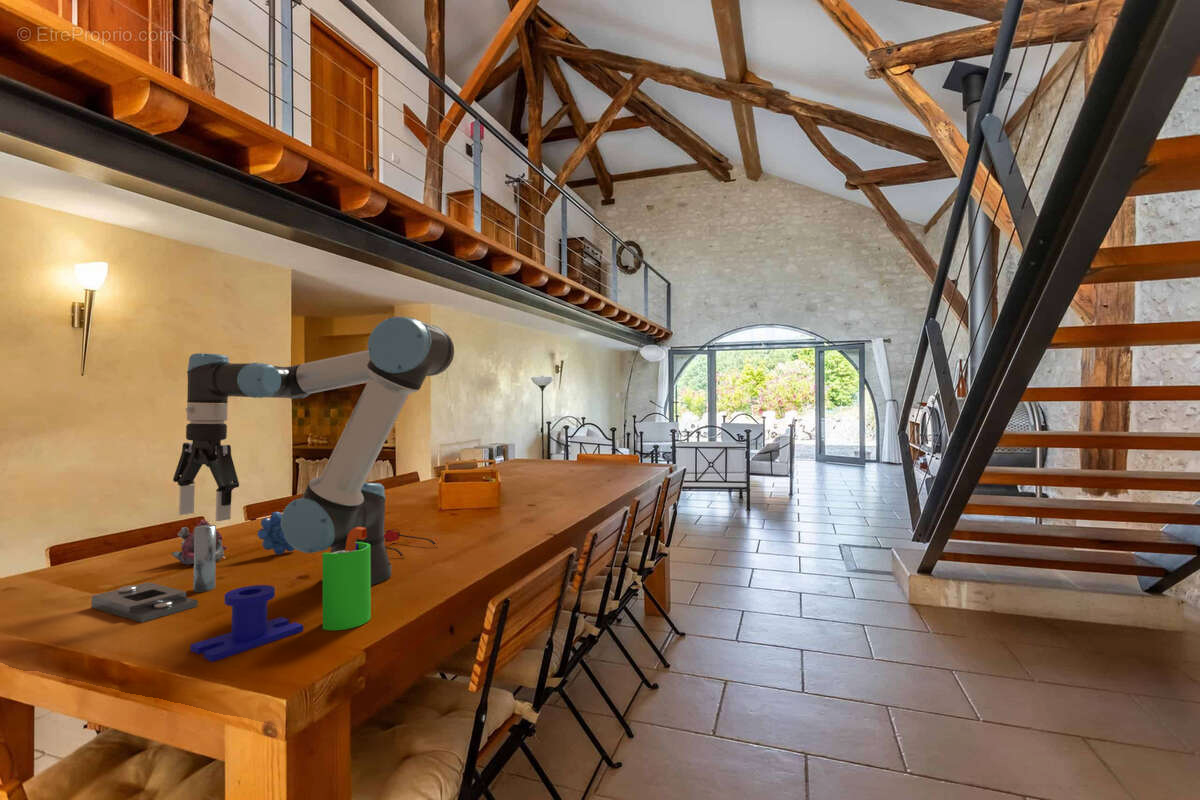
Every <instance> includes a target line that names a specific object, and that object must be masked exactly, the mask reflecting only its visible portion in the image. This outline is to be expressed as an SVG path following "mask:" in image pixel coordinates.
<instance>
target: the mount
mask: <svg viewBox="0 0 1200 800" xmlns="http://www.w3.org/2000/svg"><path fill="white" fill-rule="evenodd" d="M275 589H276V587H275V586H272V585H267V584H256V585H249V586H242V587H237V588H234V589H232V590H229V591H227V592H226V593H225V594H224V605H226V606H229V607H231V632H228V633H224V634H221V635H217V636H215V637H211V638H207V639H204V640H201V641H198V642H195V643H191V644H190V652H192V651H193V652H192V653H194V652H195V653H196V655H197V654H199V655H201V653H203V659H205V658H206V659H205V660H207V661H209V662H211V663H213V662H216V661H219V660H222V659H225V658H228V657H230V656H234V655H237V654H240V653H242V652H246V651H248V650H251V649H254V648H257V647H260V646H263V645H266V644H269V643H272V642H276V641H278V640H281V639H284V638H287V637H289V636H292V635H296V634H299V633H301V632H303V631H304V625H303V624H300V623H298V622H296V621H294V622H291V623H290V619H287V618H285V617H283V616H278V617H276V618H274V619H270V620H268V601H270V600H273V599H274V598H275V593H276V591H275ZM195 653H194V654H195Z"/></svg>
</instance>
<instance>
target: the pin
mask: <svg viewBox="0 0 1200 800" xmlns="http://www.w3.org/2000/svg"><path fill="white" fill-rule="evenodd" d="M196 526H197V525H196ZM196 526H194V528H193V530H194V565H193V585H192V586H193V590H192V591H193V593H204V591H206V592H210V591H213V590H215V589H216V569H217V568H216V565H217V564H216V563H217V562H216V530H217V525H216V524H210V525H204V524H203V526H197V527H196ZM214 588H215V589H214ZM212 589H213V590H212ZM209 590H210V591H209Z"/></svg>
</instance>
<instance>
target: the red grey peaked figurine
mask: <svg viewBox="0 0 1200 800" xmlns="http://www.w3.org/2000/svg"><path fill="white" fill-rule="evenodd" d="M203 525H211V524H210V523H209V522H208V521H207V520H206V519H201V520H200V521H199V522H198V523H197V525H196V526H195V527H197V526H203ZM189 530H190V529H189V528H188V527H186V526H185V527H181V530H179V532H178V533H177V536H178V537H179V538H181V539H182V541H181V547H180V548H181V550H179V551H178V550H177V551H176V550H175V551H173V552H171V555H172V556H173V557H174V558H175V559H177V560H178V561H179V562H180V563H182V565H183V564H185V565H184V566H192V565H191V564H194V529H193V530H192V531H191V533H190V532H189ZM222 541H223V536H222V534H221V533H220V532H219V530H217V529H216V561H217V562H219V560H220V561H221V560H222V559H221V558H224V559H226V556H224V555H225V553H224V551H225V550H227V548H228V547H227V546H226V545H223V542H222Z"/></svg>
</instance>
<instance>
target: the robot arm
mask: <svg viewBox="0 0 1200 800" xmlns="http://www.w3.org/2000/svg"><path fill="white" fill-rule="evenodd" d="M454 356H455V345H454V342H453V340H452V338H451V336H450V335H449V333H447V332H446V331H445V330H444V329H443V328H441V327H439V326H436V325H434V324H430V323H427V322H425V321H422V320H418V319H416V318H414V317H409V316H408V317H407V316H399V315H398V316H393V317H392V316H391V317H389V318H386V319H384V320H383V321H381V322H379V323H378V324H377V325H376V326H375V327H374V329H373V330H372V331H371V333H370V335H369V336H368V342H367V350H362V351H358V352H352V353H348V354H342V355H339V356H333V357H328V358H324V359H319V360H318V359H317V360H314V361H310V362H304V363H301V364H296V365H295V364H294V365H291V366H278V365H272V364H269V363H263V362H250V363H249V362H247V363H245V362H244V363H243V362H240V363H231V362H230V360H229V356H227V355H226V354H219V353H203V352H202V353H201V352H198V353H196V352H195V353H192V354H191V355H190V356H189V358H188V365H187V371H186V372H187V373H186V374H187V394H186V395H187V401H186V402H187V403H186V408H185V411H186V420H187V421H188V422H189V423H187V424H186V426H185V427H186V429H185V439H186V440H187V441H191V442H183V443H182V449H181V454H180V457H179V460H178V462H177V466H176V469H175V473H174V475H173V478H172V481H173V482H174V483H177V485H178V486H179V503H178V506H179V507H178V508H179V509H178V515H179V516H182V515H190V514H195V513H194V512H195V484H196V481H195V479H196V477H197V475H198V473H199V472H200V470H201V468H202V466H203V465H205V466H206V467H208V468H209V470H210V472H211V474H212V476H213V479H214V482H216V485H217V489H216V491H215V492H216V493H215V494H216V495H215V496H216V497H215V522H221V521H229V520H231V517H232V516H231V512H232V511H231V509H232V492H233V490H234V489H235V488H239V487H240V482H239V478H238V475H237V472H236V467H235V464H234V460H233V457H232V447H231V445H230V444H223V445H222V443H221V441H224V440H226V439H227V437H228V435H227V434H228V425H227V424H226V423H225V422H228V408H229V407H228V403H229V397H234V398H235V397H237V398H239V397H240V398H253V399H254V398H255V399H257V398H262V399H263V398H271V399H272V398H273V399H274V398H275V399H276V398H277V399H280V398H281V399H291V400H293V399H294V400H295V399H303V398H306V397H308V396H310V395H311V394H315V393H320V392H325V391H330V390H335V389H340V388H347V387H351V386H356V385H361V384H365V387H364V388H363V390H362V392H361V395H360V396H359V398H358V400H357V403H356V404H355V407H354V408H353V410H352V412H351V415H350V416H349V418H348V421H347V423H346V424H345V427H344V429H343V431H342V432H341V434H340V437H339V439H338V440H337V443H336V445H335V447H334V449H333V450H332V452H331V455H330V457H329V459H328V461H327V462H326V465H325V467H324V469H323V471H322V473H321V474H320V475H318V476H316V477H313V478H311V479H310V480H309V482H308V485H307V486H306V487H305V490H304V492H303V494H302V496H301V497H298V498H296V499H294V500H292V501H291V502H289V503H288V504H287V505H286V506H285V507H284V509H283V511H282V512H281V514H282V516H281V529H282V531H283V532H284V537H285V539H286V540H287V542H288V543H289V544H290V545H291V546H292V547H293V548H295V550H297V551H299V552H301V553H304V554H305V553H306V554H313V553H318V552H322V551H326V550H328V549H330V548H331V549H330V552H329V553H333V552H337V551H343V550H345V548H346V542H347V537H348V534H349V532H350V530H352V529H354V528H356V527H364V528H366V538H364V539H356V542H364V543H368V544H370V557H371V586H372V585H376V584H379V583H382V582H385V581H387V580H388V579H390V578H391V577H392V563H391V562H390V560H389V559H390V558H389V555H388V552H387V549H386V548H385V547H386V546H385V538H384V535H385V532H384V531H385V522H386V520H385V517H386V514H385V513H386V511H385V510H386V506H385V505H386V504H385V503H386V494H385V492H386V491H385V486H384V485H383V484H382V483H380V482H379V483H378V482H366V481H367V478H368V476H369V475H370V473H371V471H372V468H373V467H374V465H375V462H376V460H377V458H378V456H379V455H380V453H381V451H382V449H383V447H384V445H385V442H386V440H387V439H388V438H389V435H390V432H391V430H392V429H393V427H394V425H395V422H396V421H397V419H398V417H399V415H400V413H401V411H402V409H403V407H404V405H405V403H406V400H407V398H408V396H409V395H410V394H413V393H416V392H419V391H420V390H421V388H422V385H423V383H424V381H425V379H426V377H434V376H437V375H440V374H442V373H444V372H445V371H446V370H447V369H448V368H449V367H450V365H451V364H452V362H453V360H454ZM390 576H391V577H390Z"/></svg>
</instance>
